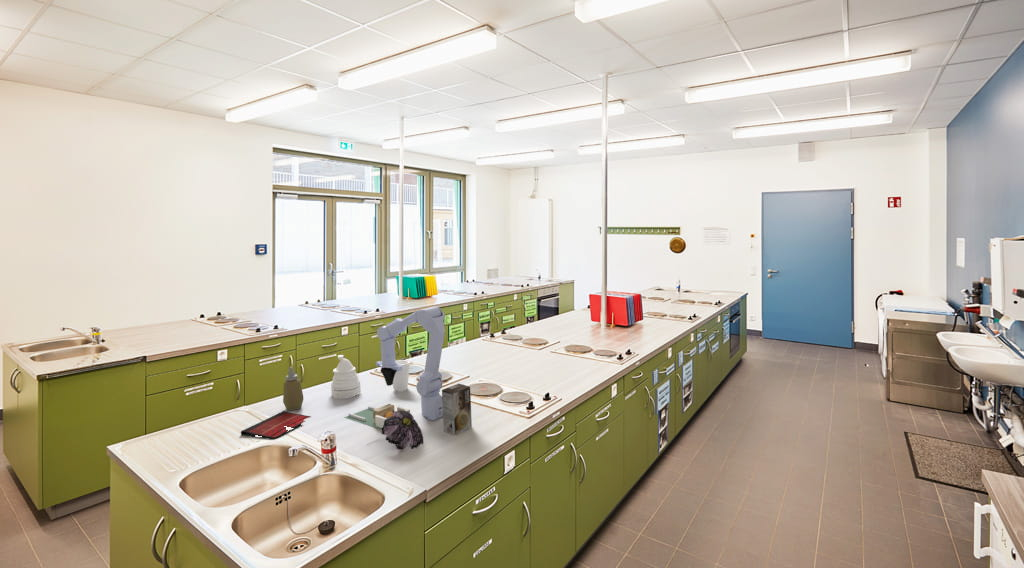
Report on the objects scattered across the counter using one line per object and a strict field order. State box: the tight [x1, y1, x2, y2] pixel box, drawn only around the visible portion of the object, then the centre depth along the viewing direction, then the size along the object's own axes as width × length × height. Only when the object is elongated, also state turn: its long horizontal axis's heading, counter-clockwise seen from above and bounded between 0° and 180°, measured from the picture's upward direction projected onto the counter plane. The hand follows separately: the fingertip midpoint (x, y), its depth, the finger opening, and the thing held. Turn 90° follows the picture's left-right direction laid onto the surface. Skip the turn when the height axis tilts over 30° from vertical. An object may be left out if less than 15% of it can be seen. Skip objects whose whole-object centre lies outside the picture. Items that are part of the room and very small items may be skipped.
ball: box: [385, 412, 393, 418], centre depth 185 cm, size 4×4×4 cm
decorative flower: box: [381, 410, 424, 451], centre depth 167 cm, size 15×12×15 cm
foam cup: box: [392, 359, 411, 392], centre depth 227 cm, size 10×9×13 cm
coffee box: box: [441, 383, 473, 436], centre depth 178 cm, size 9×6×16 cm
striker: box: [373, 403, 395, 423], centre depth 187 cm, size 3×8×5 cm, turn 144°
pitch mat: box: [343, 405, 382, 431], centre depth 189 cm, size 25×14×2 cm, turn 55°
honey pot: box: [330, 354, 362, 399], centre depth 222 cm, size 13×13×18 cm
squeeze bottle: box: [282, 366, 305, 411], centre depth 204 cm, size 8×8×18 cm
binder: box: [240, 411, 312, 440], centre depth 185 cm, size 16×2×21 cm
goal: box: [375, 406, 411, 428], centre depth 184 cm, size 6×12×4 cm, turn 145°
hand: (389, 384), depth 204 cm, fingers closed
